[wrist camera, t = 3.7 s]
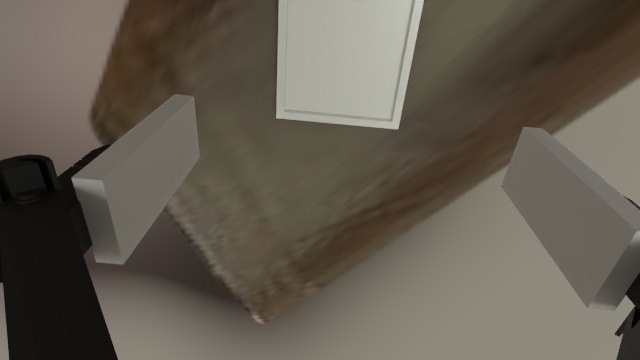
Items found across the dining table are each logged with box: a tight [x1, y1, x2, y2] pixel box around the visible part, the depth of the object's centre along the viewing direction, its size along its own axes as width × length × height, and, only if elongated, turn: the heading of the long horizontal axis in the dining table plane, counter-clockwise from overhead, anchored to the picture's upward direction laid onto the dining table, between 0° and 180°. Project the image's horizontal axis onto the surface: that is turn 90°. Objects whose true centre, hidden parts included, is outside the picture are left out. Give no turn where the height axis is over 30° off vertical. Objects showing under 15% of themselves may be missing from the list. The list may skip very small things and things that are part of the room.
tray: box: [276, 0, 424, 129], centre depth 38 cm, size 19×14×2 cm
